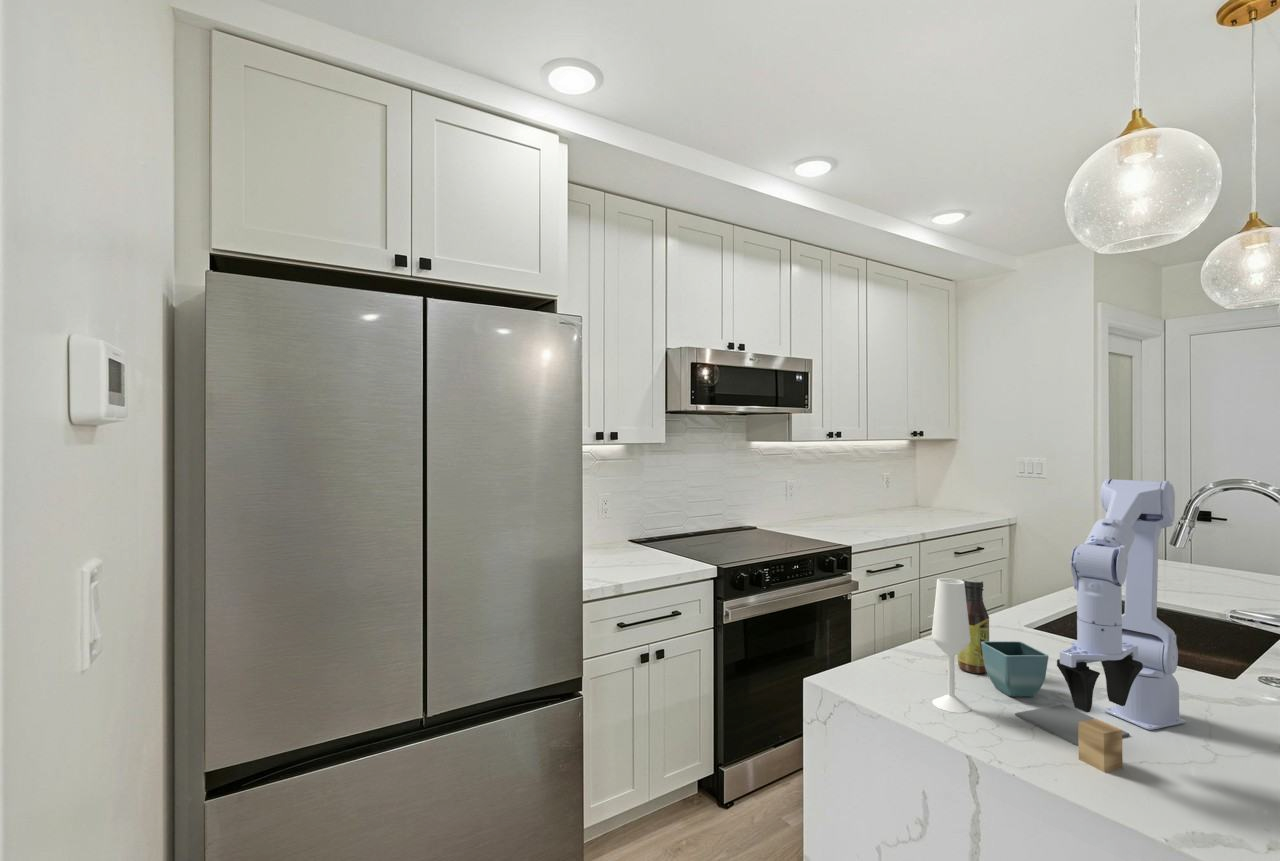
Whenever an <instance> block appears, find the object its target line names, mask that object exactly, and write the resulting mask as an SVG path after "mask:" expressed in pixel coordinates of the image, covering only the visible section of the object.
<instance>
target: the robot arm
mask: <svg viewBox="0 0 1280 861" xmlns="http://www.w3.org/2000/svg"><path fill="white" fill-rule="evenodd" d="M1100 489H1101V490H1100V502H1101V505H1102V508H1104V510H1105V512H1106V513H1105V517H1104V518H1100V519H1098V520H1097V521H1096V522H1094V524H1093V525H1092V527H1091V530H1090V531H1089V533H1088V536H1087V537H1086V539H1085V541H1084V543H1081V544H1079V546H1077V545H1075V546H1074V547H1073V548H1072V551H1071V557H1070V571H1071V574H1072V579H1073V580H1072V582H1073V589H1074V590H1076V631H1077V632H1076V633H1077V635H1076V638H1077V639H1076V640H1071V646H1070V647H1068V648H1067V649H1065V650H1059V658H1057V660H1056V667H1057V668H1058V669H1059V671H1060V673H1061V674H1062V676H1063V678H1064V679H1065V682H1066V684H1067V686H1068V691H1069V693H1070V696H1071V699H1072V703H1073V706H1074V708H1075V709H1076V710H1077V709H1078V711H1081V712H1084V713H1091V710H1092V707H1093V699H1094V698H1093V697H1094V696H1093V695H1094V689H1095V686H1096V682H1097V680H1098V678H1099V677H1100V674H1101V672H1099V671H1096V670H1094V669H1091V668H1090V666H1088V664H1090V663H1091V664H1092V663H1098V662H1101V666H1102V668H1103V671H1104V672H1103V673H1104V676H1105V684H1106V694H1107V698H1108V702H1111V703H1113V704H1115V706H1111V707H1107V708H1104V710H1103V711H1104V712H1105V713H1107V714H1109V715H1112V716H1115V717H1117V718H1120V719H1122V720H1125V721H1127V722H1129V723H1131V724H1134V725H1136V726H1138V727H1141V728H1143V729H1146V730H1149V731H1152V730H1158V729H1162V728H1166V727H1167V728H1168V727H1171V726H1177V725H1182V724H1185V723H1186V721H1185V719H1183V718H1181V717H1180V686H1179V683H1178V680H1177V679H1176V677H1175V675H1173V674H1174V673H1176V670H1177V668H1178V662H1179V651H1178V650H1179V649H1178V645H1177V634H1176V633H1175V631H1174V630H1173V629H1172V628H1171V627H1169V626H1168V625H1167V624H1166V623H1164V622H1163V621H1161V619H1159V618H1158V617H1157V610H1158V574H1159V573H1158V572H1159V571H1158V570H1159V541H1160V539H1159V538H1160V535H1161V532H1162V529H1166V528H1169V527H1172V526H1173V525H1174V521H1175V511H1176V510H1175V507H1176V506H1175V505H1176V504H1175V503H1176V498H1175V497H1176V496H1175V495H1176V494H1175V488H1174V485H1173V484H1172V483H1171V482H1170V481H1169V480H1163V481H1159V480H1158V481H1154V480H1137V479H1136V480H1135V479H1134V480H1133V479H1113V478H1106V479H1105V480H1104V481H1103V482H1102V484H1101V488H1100ZM1124 583H1125V589H1124V613H1123V611H1122V609H1123V606H1122V603H1123V602H1122V601H1123V599H1122V586H1123V584H1124ZM1122 613H1123V614H1122ZM1123 629H1124V630H1123Z"/></svg>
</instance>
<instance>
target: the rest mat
mask: <svg viewBox="0 0 1280 861" xmlns="http://www.w3.org/2000/svg"><path fill="white" fill-rule="evenodd" d="M1014 715H1015V716H1016V717H1018V718H1020V719H1022V720H1023V721H1026V722H1029V723H1031V724H1033V725H1034V726H1037V727H1038V728H1040V729H1043V730H1044V731H1046V732H1049V733H1050V734H1053V735H1055V736H1057V737H1058V738H1061V739H1063V740H1065V741H1067V742H1069V743H1071V744H1073V745H1075V746H1077V747H1079V742H1078V722H1081V721H1087V720H1092V719H1096V718H1095V717H1093V716H1091V715H1088V714H1086V713H1085V712H1084V713H1083V712H1082V711H1080V710H1077V709H1074V708H1072V707H1070V706H1067V705H1065V704H1057V705H1052V706H1047V707H1041V708H1036V709H1030V710H1029V709H1028V710H1024V711H1019V712H1014ZM1121 730H1122V738H1124V737H1130V733H1129V732H1127V731H1125V730H1123V729H1121Z"/></svg>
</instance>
